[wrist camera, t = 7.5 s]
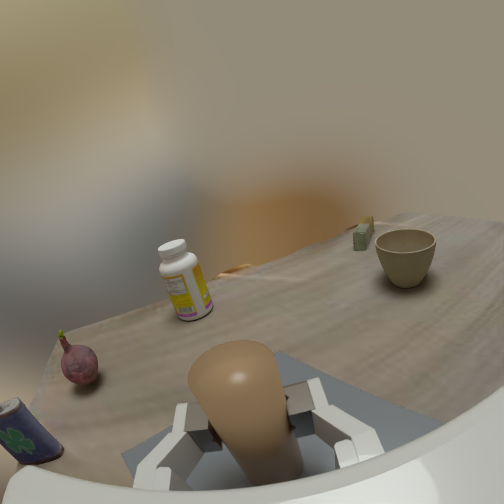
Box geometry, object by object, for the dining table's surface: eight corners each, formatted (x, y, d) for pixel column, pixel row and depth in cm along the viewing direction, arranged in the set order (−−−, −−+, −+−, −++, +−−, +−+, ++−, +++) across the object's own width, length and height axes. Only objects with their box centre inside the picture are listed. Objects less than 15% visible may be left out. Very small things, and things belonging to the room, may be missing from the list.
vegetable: (77, 402, 30) (39, 348, 27) (76, 378, 35) (44, 328, 32) (110, 387, 33) (75, 331, 30) (106, 365, 38) (76, 313, 35)
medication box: (366, 251, 55) (364, 233, 54) (353, 251, 57) (352, 233, 55) (374, 231, 64) (373, 215, 63) (363, 231, 66) (362, 215, 64)
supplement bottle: (204, 297, 53) (183, 234, 49) (220, 309, 48) (197, 239, 43) (173, 312, 50) (148, 248, 46) (185, 327, 45) (157, 256, 40)
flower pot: (435, 267, 41) (436, 227, 39) (433, 299, 34) (435, 253, 32) (383, 265, 48) (381, 227, 45) (370, 294, 40) (368, 251, 38)
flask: (65, 443, 23) (11, 382, 19) (64, 460, 20) (5, 399, 17) (19, 452, 20) (-32, 396, 16) (18, 467, 17) (-38, 411, 14)
